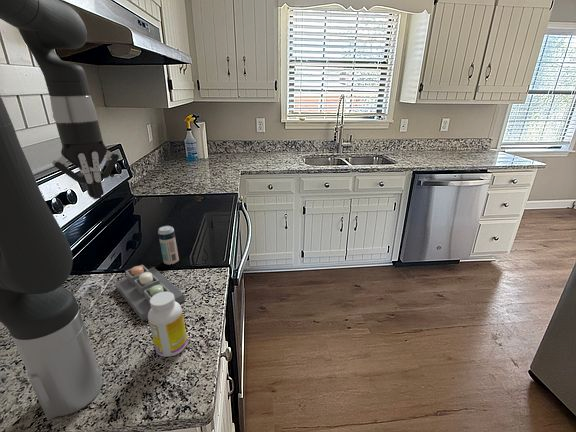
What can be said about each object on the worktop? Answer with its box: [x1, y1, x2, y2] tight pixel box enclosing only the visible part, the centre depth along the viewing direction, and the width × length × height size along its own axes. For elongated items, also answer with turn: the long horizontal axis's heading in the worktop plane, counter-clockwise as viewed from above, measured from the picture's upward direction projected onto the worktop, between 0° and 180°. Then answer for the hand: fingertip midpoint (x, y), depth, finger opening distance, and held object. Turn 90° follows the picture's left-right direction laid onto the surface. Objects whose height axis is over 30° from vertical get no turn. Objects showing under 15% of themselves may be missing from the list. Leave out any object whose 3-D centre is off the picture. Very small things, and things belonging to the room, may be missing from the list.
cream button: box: [139, 272, 153, 286], centre depth 84 cm, size 3×3×3 cm
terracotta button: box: [130, 265, 144, 276], centre depth 88 cm, size 3×3×3 cm
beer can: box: [157, 225, 180, 266], centre depth 99 cm, size 5×5×12 cm
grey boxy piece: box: [114, 264, 186, 322], centre depth 85 cm, size 11×19×4 cm, turn 44°
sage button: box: [149, 285, 164, 297], centre depth 80 cm, size 3×3×3 cm
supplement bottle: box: [147, 292, 188, 358], centre depth 66 cm, size 7×7×13 cm
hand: (97, 197), depth 72 cm, fingers closed
